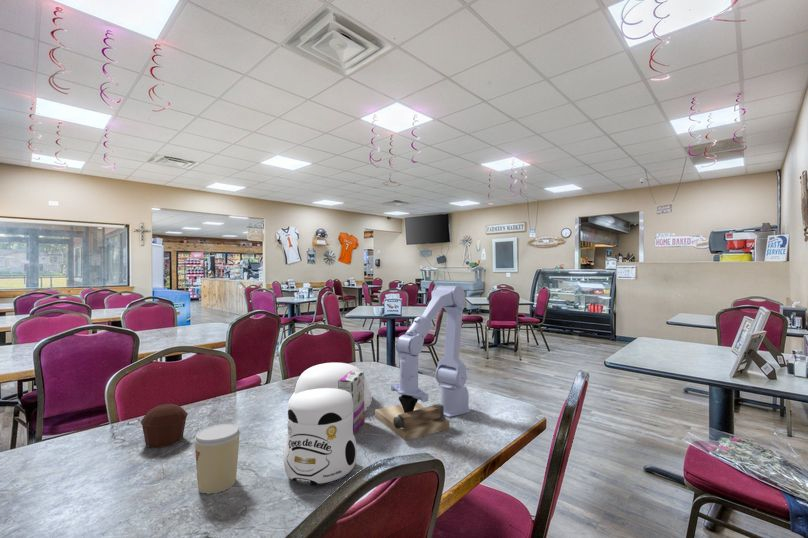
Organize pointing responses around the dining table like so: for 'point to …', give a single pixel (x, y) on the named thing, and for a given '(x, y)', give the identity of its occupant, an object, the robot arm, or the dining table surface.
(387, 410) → the stool seat
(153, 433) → the muffin
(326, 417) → the doce de leite jar
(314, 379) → the dome cover
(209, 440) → the coffee cup
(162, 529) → the dining table surface
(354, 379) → the candy bar box
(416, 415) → the stool leg
